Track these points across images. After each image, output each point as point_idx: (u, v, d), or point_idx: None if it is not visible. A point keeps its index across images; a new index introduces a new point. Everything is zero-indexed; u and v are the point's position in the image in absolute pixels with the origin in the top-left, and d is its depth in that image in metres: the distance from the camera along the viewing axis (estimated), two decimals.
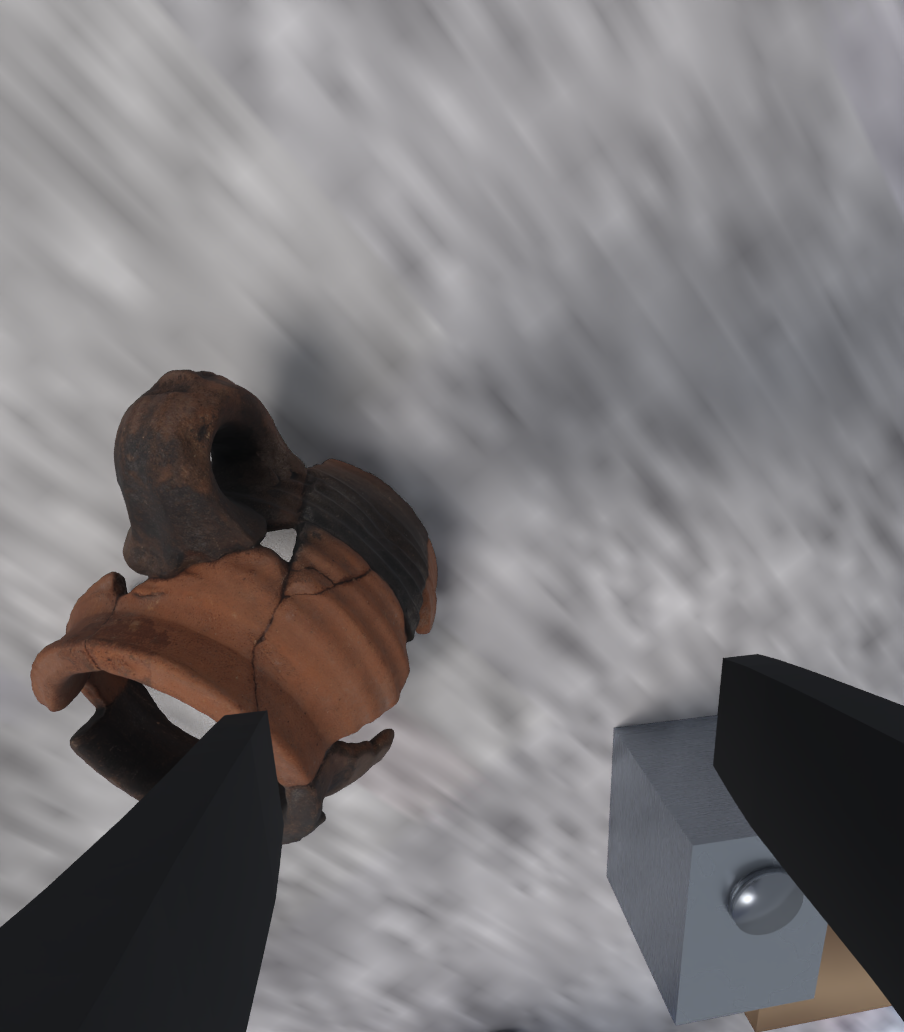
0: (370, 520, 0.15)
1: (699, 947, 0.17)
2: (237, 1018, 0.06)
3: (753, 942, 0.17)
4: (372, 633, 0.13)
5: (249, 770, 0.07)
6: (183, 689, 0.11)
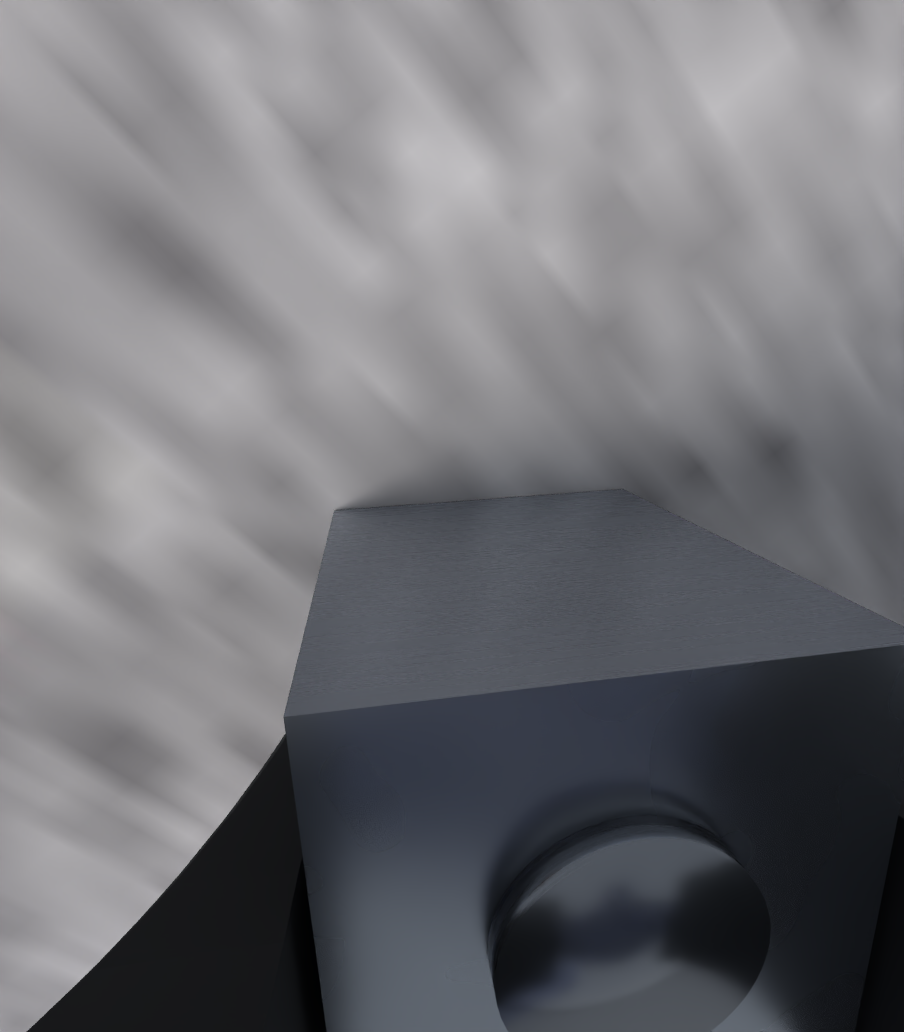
0: None
1: None
2: None
3: None
4: None
5: None
6: None
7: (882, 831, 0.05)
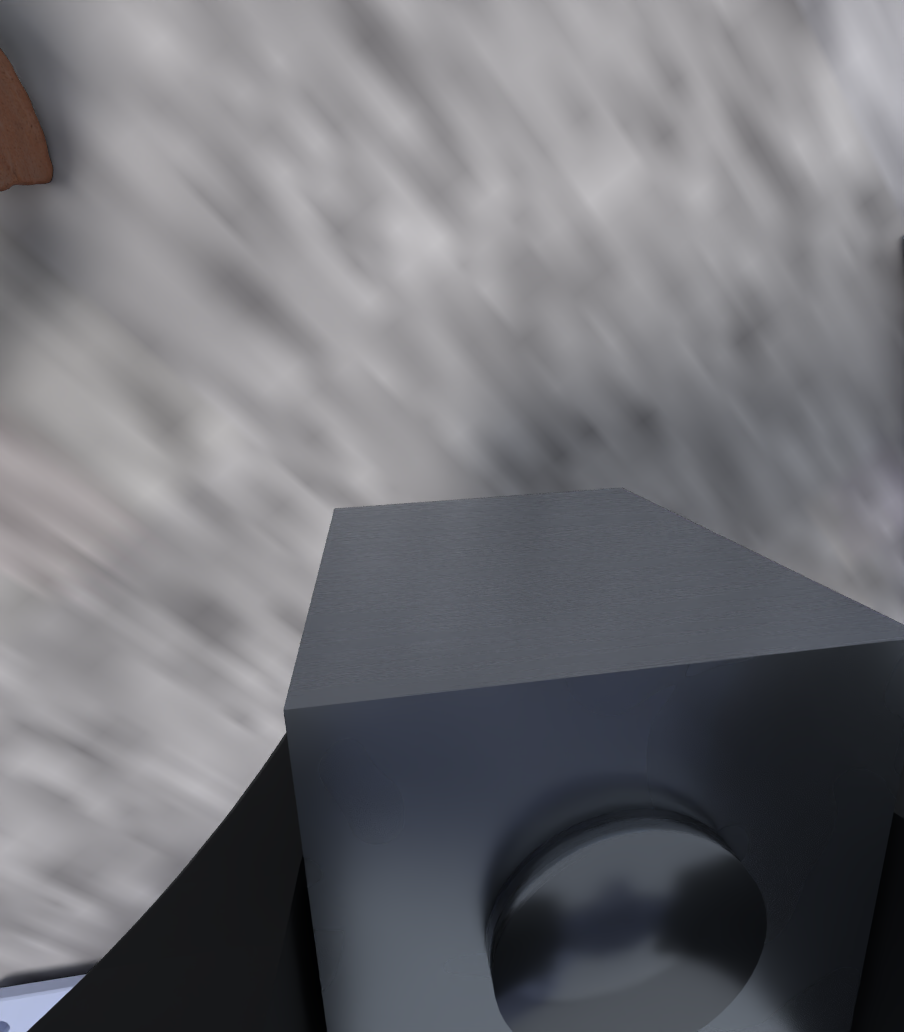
0: None
1: None
2: None
3: None
4: None
5: None
6: None
7: (878, 826, 0.05)
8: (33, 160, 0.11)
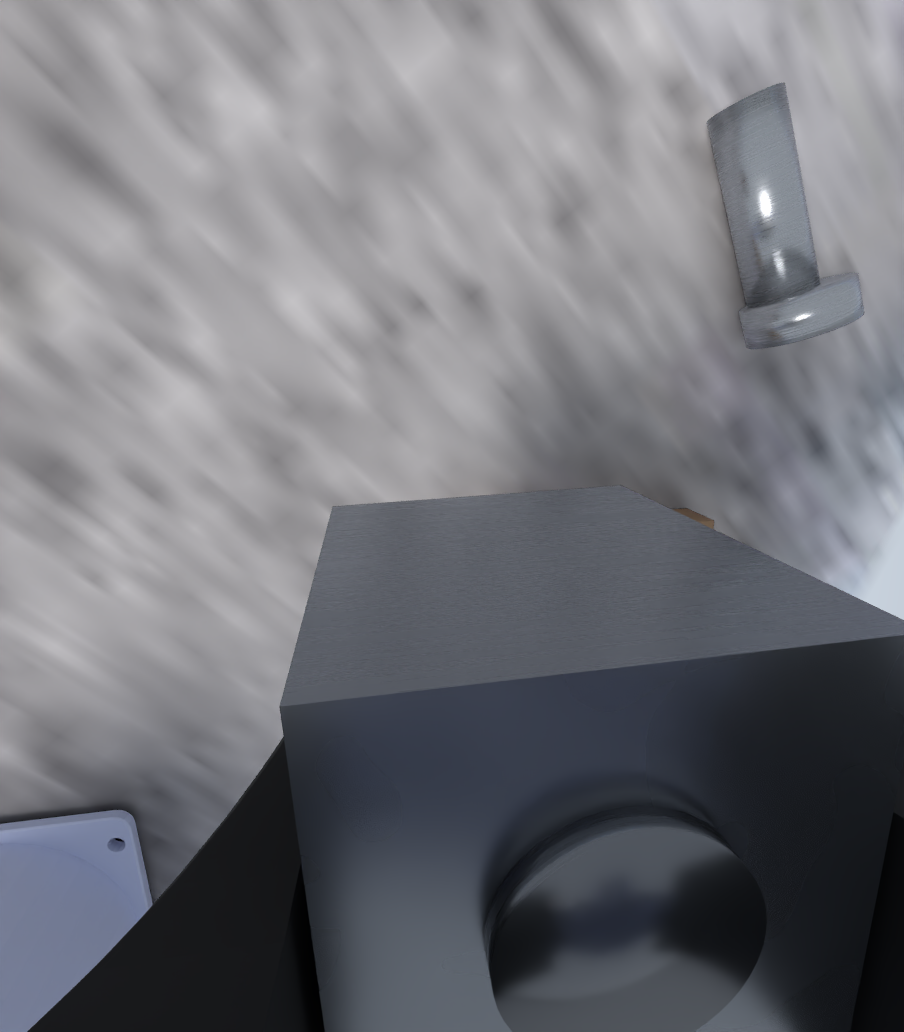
0: None
1: None
2: None
3: None
4: None
5: None
6: None
7: (876, 822, 0.05)
8: None
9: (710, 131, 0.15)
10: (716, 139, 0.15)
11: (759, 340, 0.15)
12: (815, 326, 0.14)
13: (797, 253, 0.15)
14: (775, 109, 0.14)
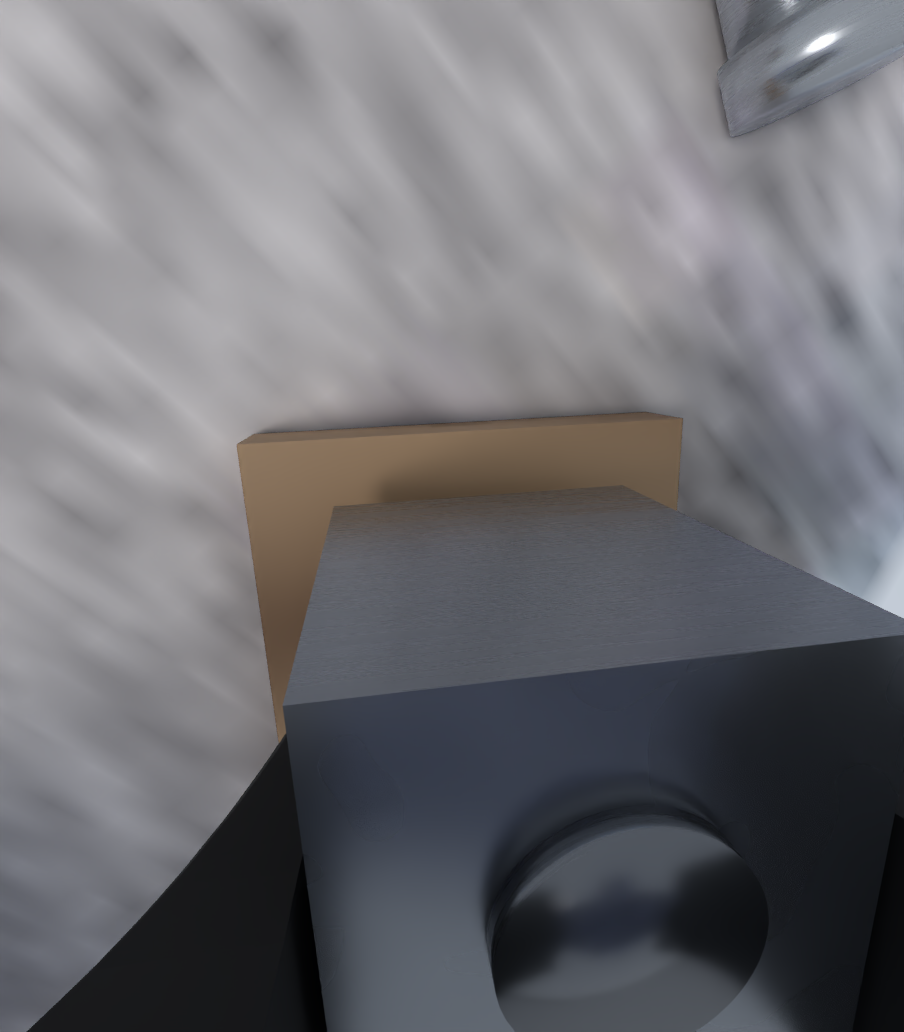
0: None
1: None
2: None
3: None
4: None
5: None
6: None
7: (879, 822, 0.05)
8: None
9: None
10: None
11: (750, 103, 0.09)
12: (847, 49, 0.08)
13: None
14: None
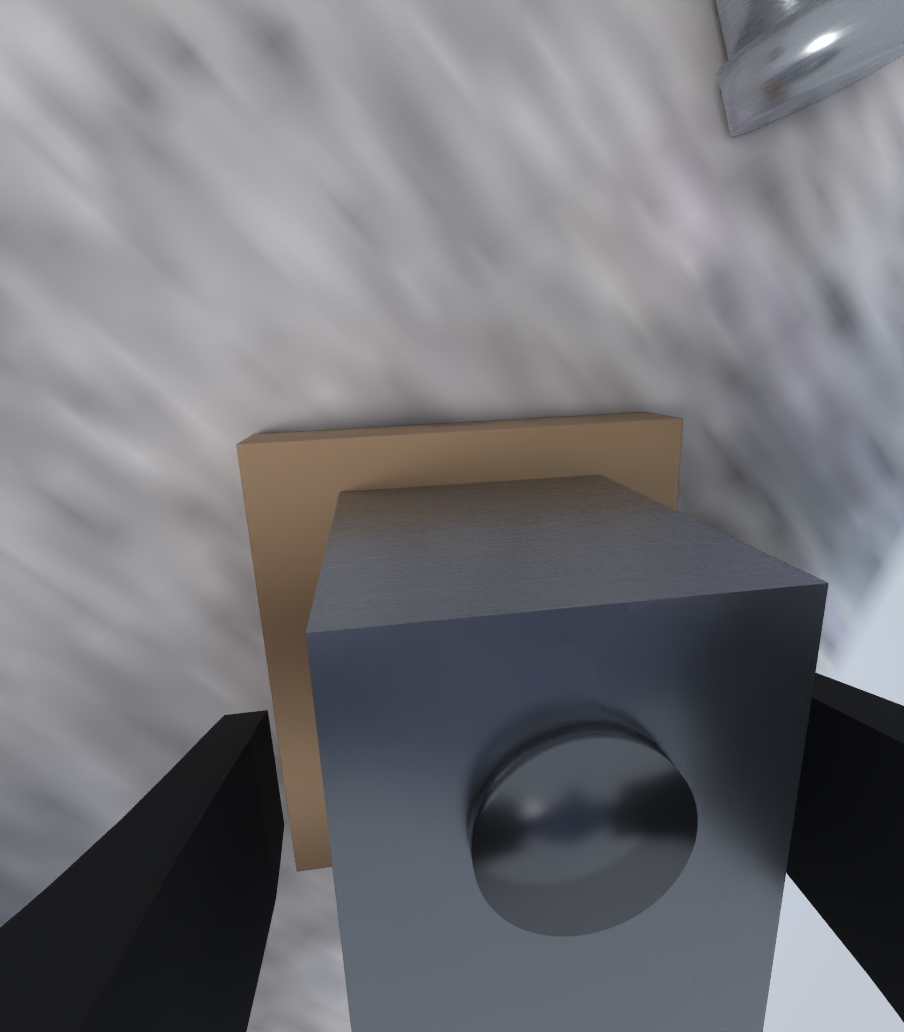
0: None
1: (400, 974, 0.06)
2: (238, 1018, 0.06)
3: (567, 957, 0.06)
4: None
5: (250, 770, 0.07)
6: None
7: (794, 745, 0.06)
8: None
9: None
10: None
11: (750, 103, 0.09)
12: (847, 48, 0.08)
13: None
14: None
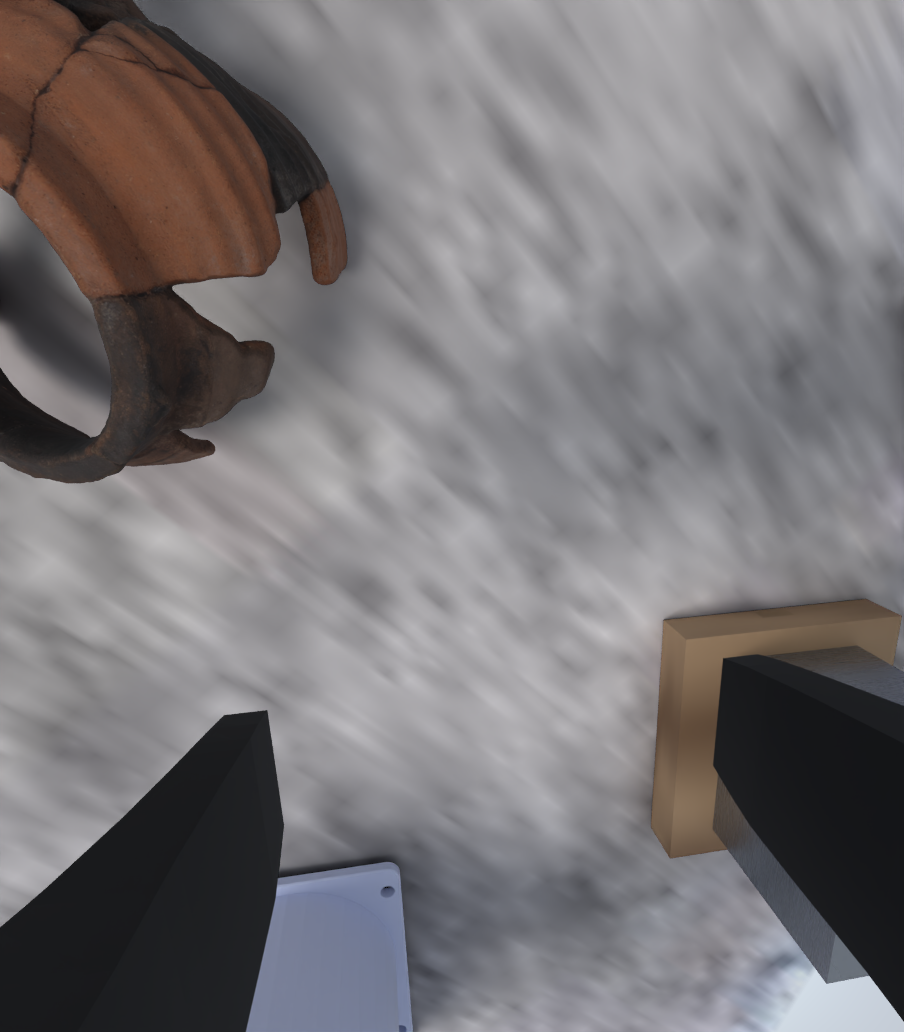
0: (235, 89, 0.12)
1: None
2: (237, 1018, 0.06)
3: None
4: (214, 144, 0.10)
5: (249, 770, 0.07)
6: None
7: None
8: (342, 256, 0.15)
9: None
10: None
11: None
12: None
13: None
14: None
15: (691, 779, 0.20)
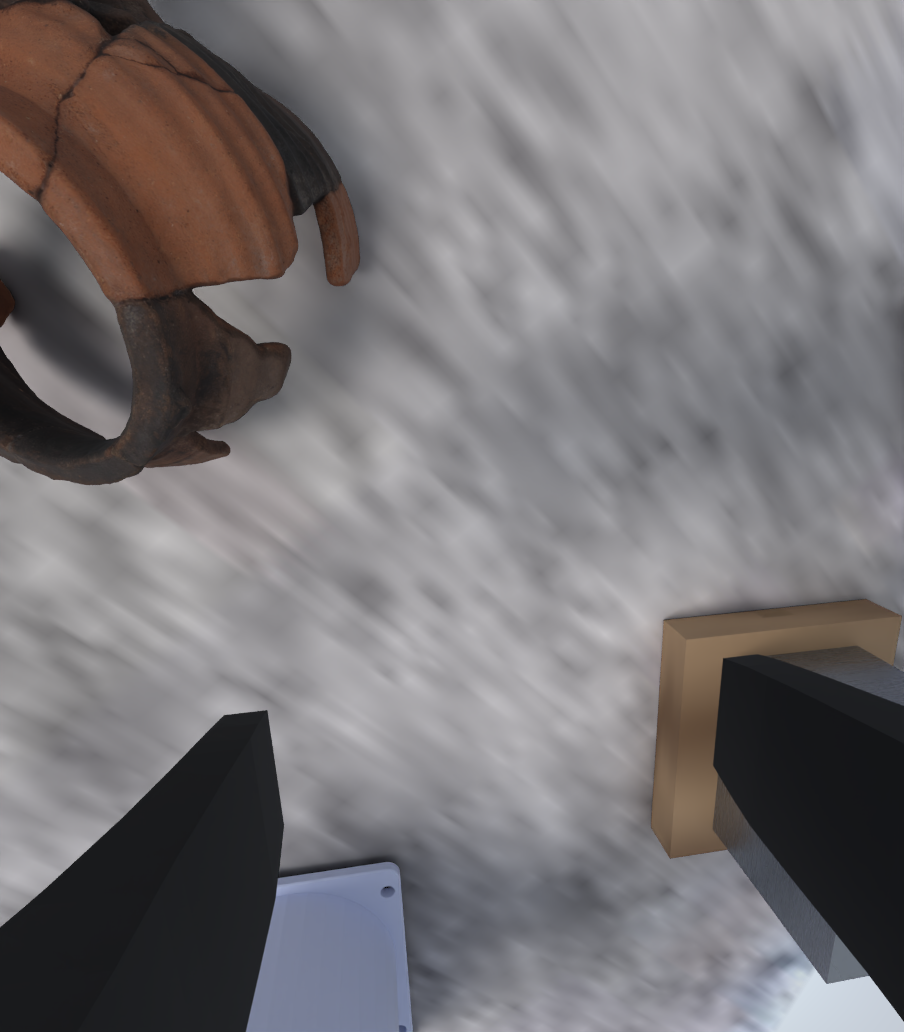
0: (251, 92, 0.12)
1: None
2: (237, 1018, 0.06)
3: None
4: (233, 148, 0.10)
5: (249, 770, 0.07)
6: None
7: None
8: (355, 257, 0.15)
9: None
10: None
11: None
12: None
13: None
14: None
15: (691, 779, 0.20)
